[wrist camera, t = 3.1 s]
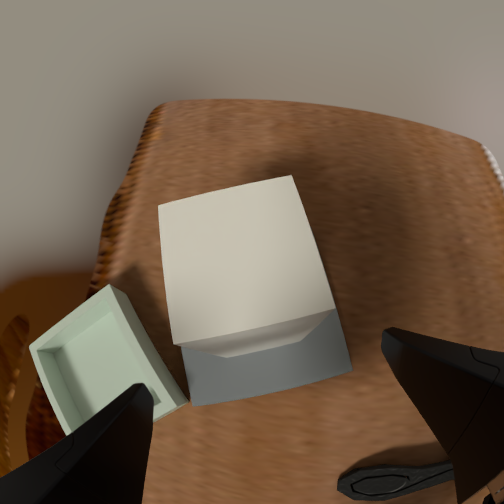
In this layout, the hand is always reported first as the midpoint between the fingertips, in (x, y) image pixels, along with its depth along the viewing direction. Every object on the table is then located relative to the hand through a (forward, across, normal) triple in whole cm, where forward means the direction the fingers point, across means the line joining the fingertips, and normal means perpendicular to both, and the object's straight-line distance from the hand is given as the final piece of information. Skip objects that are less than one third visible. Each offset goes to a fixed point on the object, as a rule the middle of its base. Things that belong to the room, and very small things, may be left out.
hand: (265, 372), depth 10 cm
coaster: (+11, 0, -6) cm, 13 cm away
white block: (+11, 0, -5) cm, 12 cm away
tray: (+9, -14, -8) cm, 18 cm away
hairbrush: (-2, +15, -19) cm, 25 cm away
